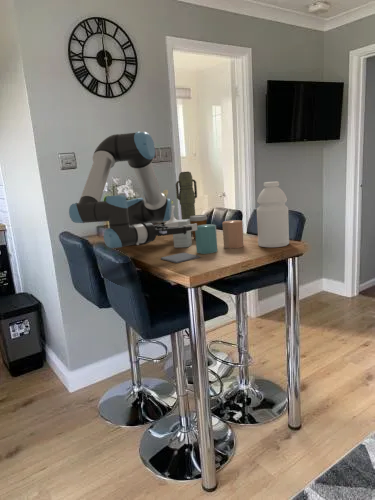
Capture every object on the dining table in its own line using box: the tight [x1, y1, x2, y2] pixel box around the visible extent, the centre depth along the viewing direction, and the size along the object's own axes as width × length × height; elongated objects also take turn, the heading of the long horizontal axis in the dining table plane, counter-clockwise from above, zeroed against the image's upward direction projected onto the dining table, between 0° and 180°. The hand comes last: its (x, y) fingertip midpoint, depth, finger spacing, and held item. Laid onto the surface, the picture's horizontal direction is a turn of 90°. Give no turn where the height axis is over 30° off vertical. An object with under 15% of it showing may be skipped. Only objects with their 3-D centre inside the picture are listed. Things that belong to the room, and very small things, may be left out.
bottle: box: [256, 181, 290, 248], centre depth 173 cm, size 14×14×28 cm
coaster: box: [160, 252, 201, 264], centre depth 164 cm, size 12×12×1 cm
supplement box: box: [172, 219, 193, 249], centre depth 188 cm, size 7×7×13 cm
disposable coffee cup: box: [190, 214, 208, 240], centre depth 205 cm, size 10×10×12 cm
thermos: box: [175, 171, 198, 236], centre depth 220 cm, size 9×12×35 cm
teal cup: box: [195, 223, 218, 255], centre depth 172 cm, size 9×9×11 cm
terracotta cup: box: [222, 219, 245, 249], centre depth 178 cm, size 9×9×11 cm
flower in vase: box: [162, 188, 178, 225], centre depth 250 cm, size 13×11×25 cm
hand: (187, 225), depth 164 cm, fingers open, 13 cm apart
